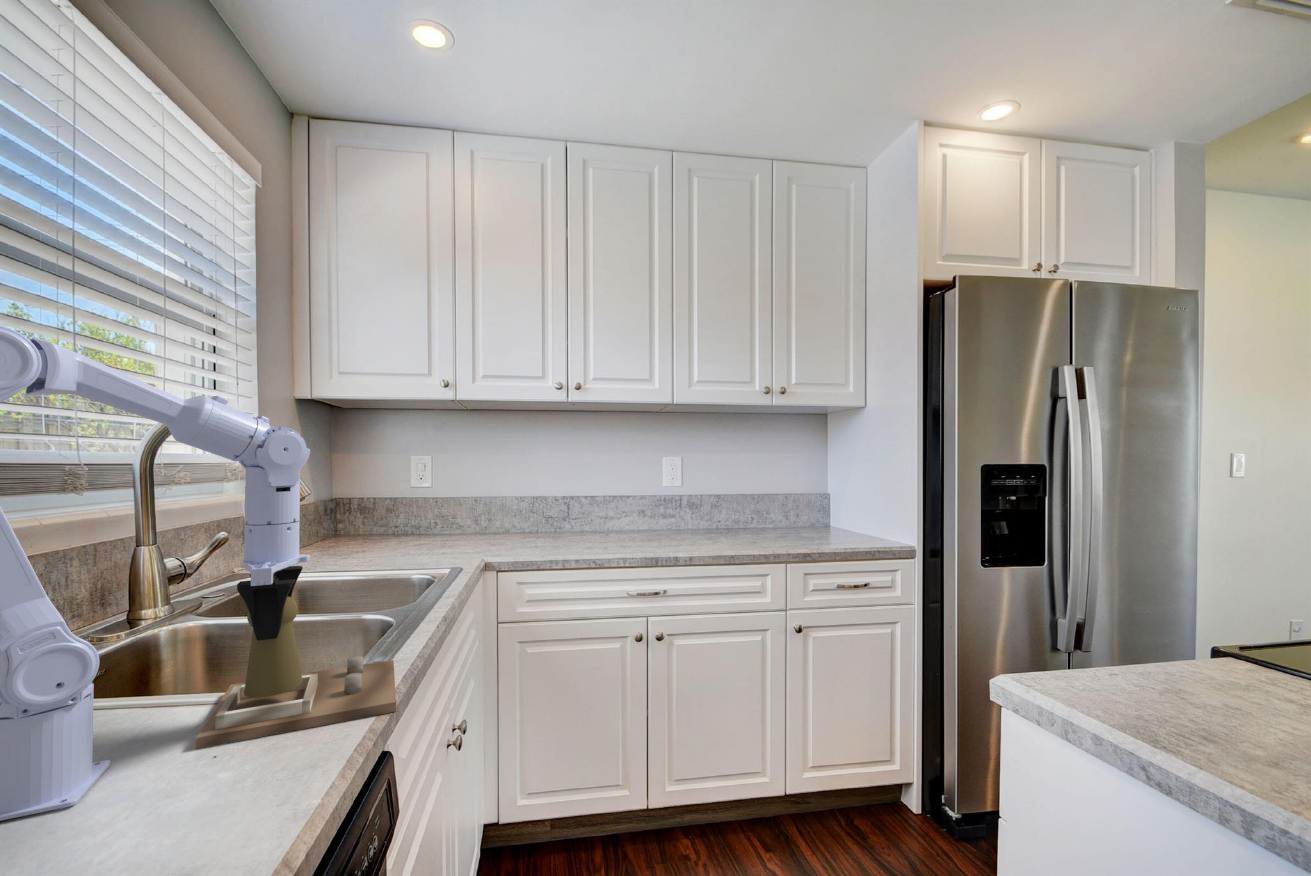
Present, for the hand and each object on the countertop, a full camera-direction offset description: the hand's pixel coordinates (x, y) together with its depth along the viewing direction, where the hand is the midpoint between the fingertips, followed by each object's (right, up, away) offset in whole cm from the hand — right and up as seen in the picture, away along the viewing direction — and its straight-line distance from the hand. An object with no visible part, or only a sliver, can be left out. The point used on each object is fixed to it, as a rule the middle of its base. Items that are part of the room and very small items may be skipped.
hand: (271, 632), depth 71 cm
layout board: (+3, -10, +3) cm, 11 cm away
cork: (0, -7, 0) cm, 7 cm away
